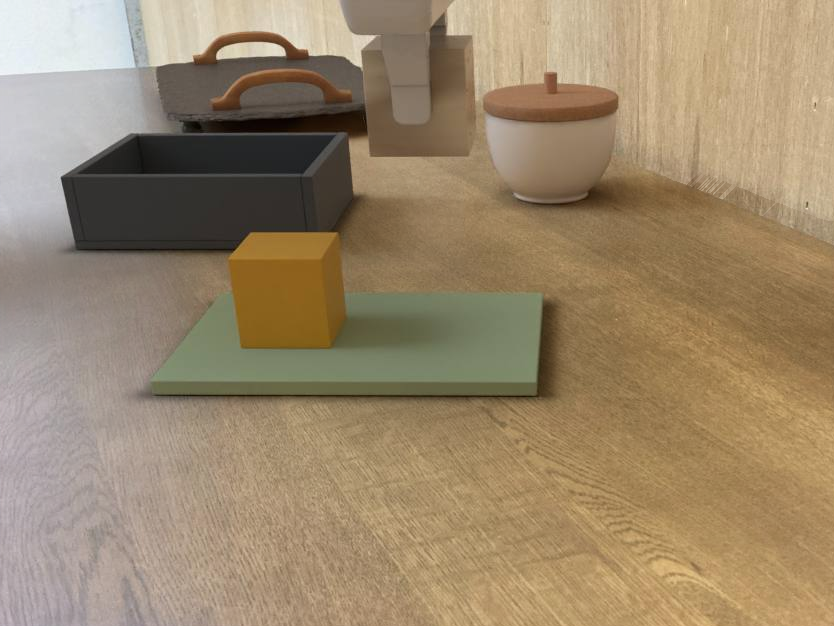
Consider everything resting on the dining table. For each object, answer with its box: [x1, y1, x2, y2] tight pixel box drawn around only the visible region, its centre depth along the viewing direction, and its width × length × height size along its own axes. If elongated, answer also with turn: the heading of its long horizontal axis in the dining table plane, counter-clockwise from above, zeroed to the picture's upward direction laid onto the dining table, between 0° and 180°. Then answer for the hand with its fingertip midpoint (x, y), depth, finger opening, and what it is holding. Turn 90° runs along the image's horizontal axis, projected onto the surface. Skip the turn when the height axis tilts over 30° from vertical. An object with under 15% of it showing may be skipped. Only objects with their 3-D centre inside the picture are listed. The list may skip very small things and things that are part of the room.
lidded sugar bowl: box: [482, 71, 619, 204], centre depth 91 cm, size 11×11×9 cm
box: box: [60, 132, 355, 250], centre depth 86 cm, size 18×15×5 cm
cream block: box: [360, 34, 477, 158], centre depth 58 cm, size 5×5×5 cm
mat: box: [149, 291, 544, 397], centre depth 65 cm, size 20×14×1 cm
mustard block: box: [227, 231, 347, 348], centre depth 63 cm, size 5×5×5 cm
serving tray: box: [155, 30, 367, 133], centre depth 126 cm, size 39×23×6 cm, turn 18°
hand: (421, 109), depth 58 cm, fingers closed on cream block, 5 cm apart
